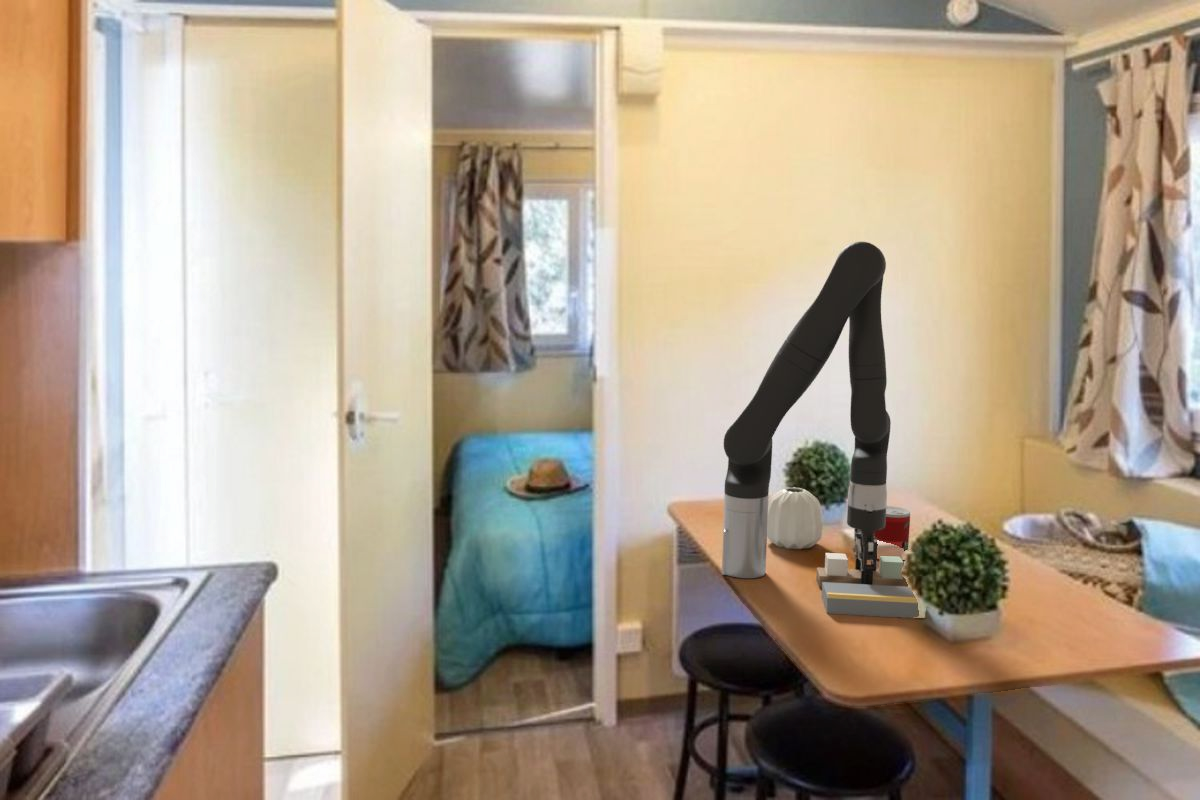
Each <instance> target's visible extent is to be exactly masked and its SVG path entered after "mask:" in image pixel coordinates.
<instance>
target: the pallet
mask: <svg viewBox="0 0 1200 800" xmlns="http://www.w3.org/2000/svg"><path fill="white" fill-rule="evenodd" d="M815 579H816V582H817V583H818V584H819V585H818V584H817V586H819V587H818V589H819V588H822V582H831V583H849V584H861V570H855V568H854V569H852V568H850V569H849V568H847V576H832V575H827V574H826V571H825V567H816V578H815ZM872 585H886V586H904V587H908V584H907V582H906V579H905V578H904V577H903V579H888V578H882V577H881V575H880V573H879V570H876V571H873V582H872Z"/></svg>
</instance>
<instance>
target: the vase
mask: <svg viewBox="0 0 1200 800" xmlns="http://www.w3.org/2000/svg"><path fill="white" fill-rule="evenodd" d="M823 530H824V517H823V511H822V506H821V502H820V501H819V499H818V498H817V497H816V496H814V495H813V494H812V493H811V492H810V491H808V490H806V489H805V488H801V487H793V486H792V487H786V488H782V489H780V490H778V491H777V492H775V493H774V494H773V495H772V496H771V497H769V498H768V521H767V539H768V540H769V542H770V543H771V544H774V546H777V547H779V548H785V549H789V550H791V549H795V550H801V549H811V548H812V547H813V546H815V545H817V543H819V541H820V540H821V539H822V535H823Z"/></svg>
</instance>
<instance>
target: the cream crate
mask: <svg viewBox="0 0 1200 800" xmlns="http://www.w3.org/2000/svg"><path fill="white" fill-rule="evenodd" d="M824 557H825V558H824V568H825V571H826V574H827V575H832V576H847V569H849V568H848V567H849V564H848V563H849V559H848V557H847V555H846V553H836V552H825V555H824Z"/></svg>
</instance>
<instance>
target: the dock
mask: <svg viewBox="0 0 1200 800" xmlns="http://www.w3.org/2000/svg"><path fill="white" fill-rule="evenodd" d="M821 599H822V602H823V605H824V609H825V611H826V614H831V615H833V614H834V615H835V614H836V615H849V616H850V615H851V616H865V617H885V618H898V617H900V618H899V619H912V618H911V617H918V616H919V610H918V602H917V599H916V597H915V596H914V594H913V592H912V591H911V589H910V587H904V586H886V585H867V584H849V583H831V582H822V589H821ZM901 617H902V618H901ZM906 617H907V618H906ZM908 617H910V618H908Z"/></svg>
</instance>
